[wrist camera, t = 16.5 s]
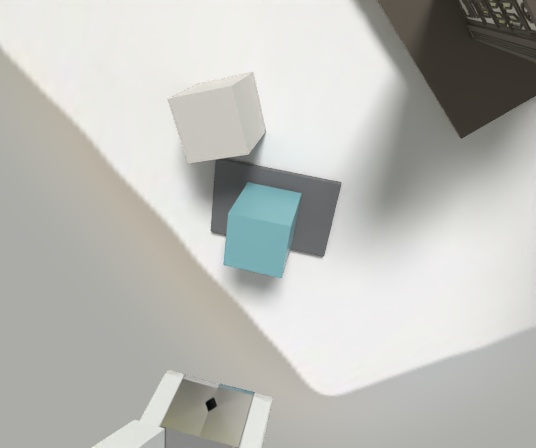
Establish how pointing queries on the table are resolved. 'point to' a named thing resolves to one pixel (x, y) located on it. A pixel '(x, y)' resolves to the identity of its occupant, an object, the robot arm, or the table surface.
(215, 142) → the light grey block
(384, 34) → the table surface
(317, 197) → the stand
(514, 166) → the table surface
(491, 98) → the building model
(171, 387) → the robot arm
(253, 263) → the teal block
